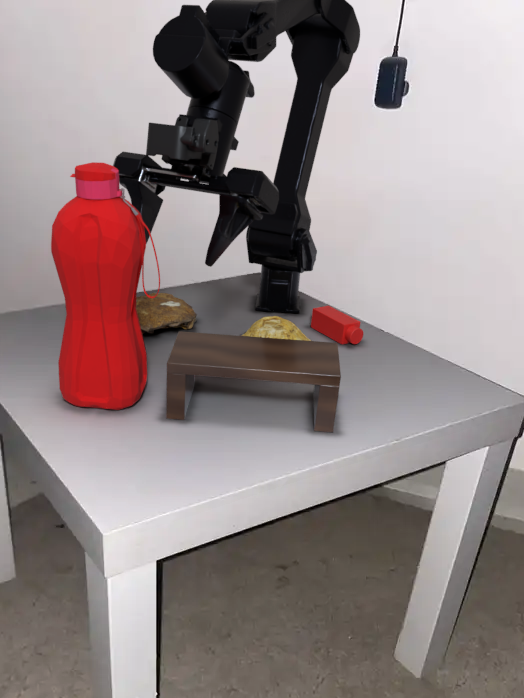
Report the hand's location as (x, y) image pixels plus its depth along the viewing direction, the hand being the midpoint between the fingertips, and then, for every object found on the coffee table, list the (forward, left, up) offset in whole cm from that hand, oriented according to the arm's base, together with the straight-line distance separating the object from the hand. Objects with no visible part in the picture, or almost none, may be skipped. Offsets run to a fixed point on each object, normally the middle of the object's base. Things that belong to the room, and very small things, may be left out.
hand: (172, 258), depth 86 cm
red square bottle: (-17, +20, -14) cm, 30 cm away
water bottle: (+7, -6, -14) cm, 17 cm away
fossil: (-8, +12, -14) cm, 21 cm away
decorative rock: (-14, -6, -14) cm, 21 cm away
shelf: (+7, +10, -14) cm, 19 cm away
